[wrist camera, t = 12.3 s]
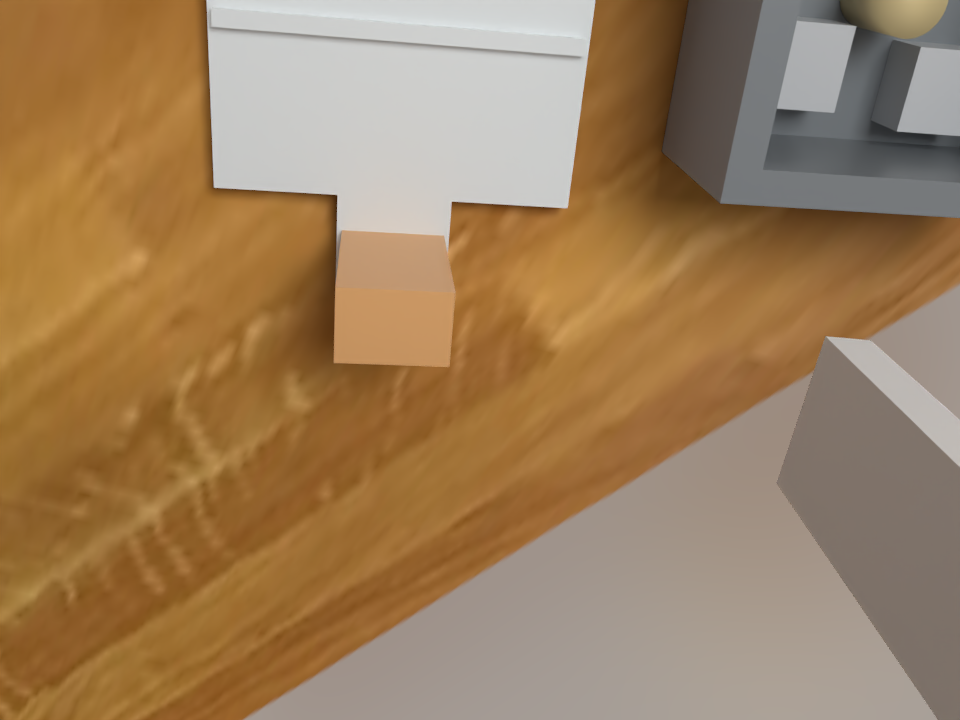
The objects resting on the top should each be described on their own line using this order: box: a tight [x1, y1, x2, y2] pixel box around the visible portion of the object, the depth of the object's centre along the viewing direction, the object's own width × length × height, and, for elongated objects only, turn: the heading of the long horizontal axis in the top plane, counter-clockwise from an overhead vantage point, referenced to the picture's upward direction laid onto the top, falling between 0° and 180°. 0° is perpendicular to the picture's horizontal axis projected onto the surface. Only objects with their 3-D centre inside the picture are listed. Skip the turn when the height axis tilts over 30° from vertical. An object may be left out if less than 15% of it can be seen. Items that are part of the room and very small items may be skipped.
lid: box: [206, 0, 595, 367], centre depth 30 cm, size 14×23×7 cm, turn 175°
